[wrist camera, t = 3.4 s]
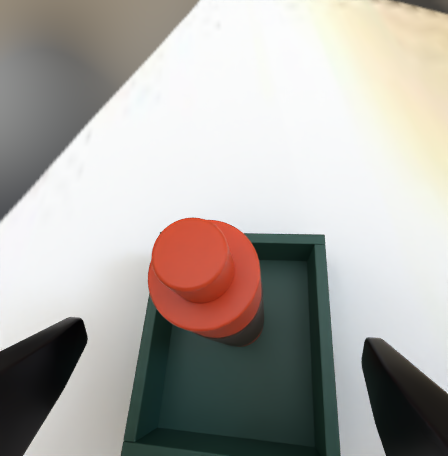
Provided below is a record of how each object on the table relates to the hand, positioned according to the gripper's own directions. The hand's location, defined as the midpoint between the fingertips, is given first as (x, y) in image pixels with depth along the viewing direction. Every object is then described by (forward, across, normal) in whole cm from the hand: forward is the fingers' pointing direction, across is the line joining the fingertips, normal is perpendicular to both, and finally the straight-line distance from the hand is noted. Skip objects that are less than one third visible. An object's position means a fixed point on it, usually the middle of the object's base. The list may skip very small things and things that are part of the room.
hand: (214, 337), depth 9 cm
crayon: (+8, 0, +5) cm, 9 cm away
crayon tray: (+7, 0, +6) cm, 10 cm away
